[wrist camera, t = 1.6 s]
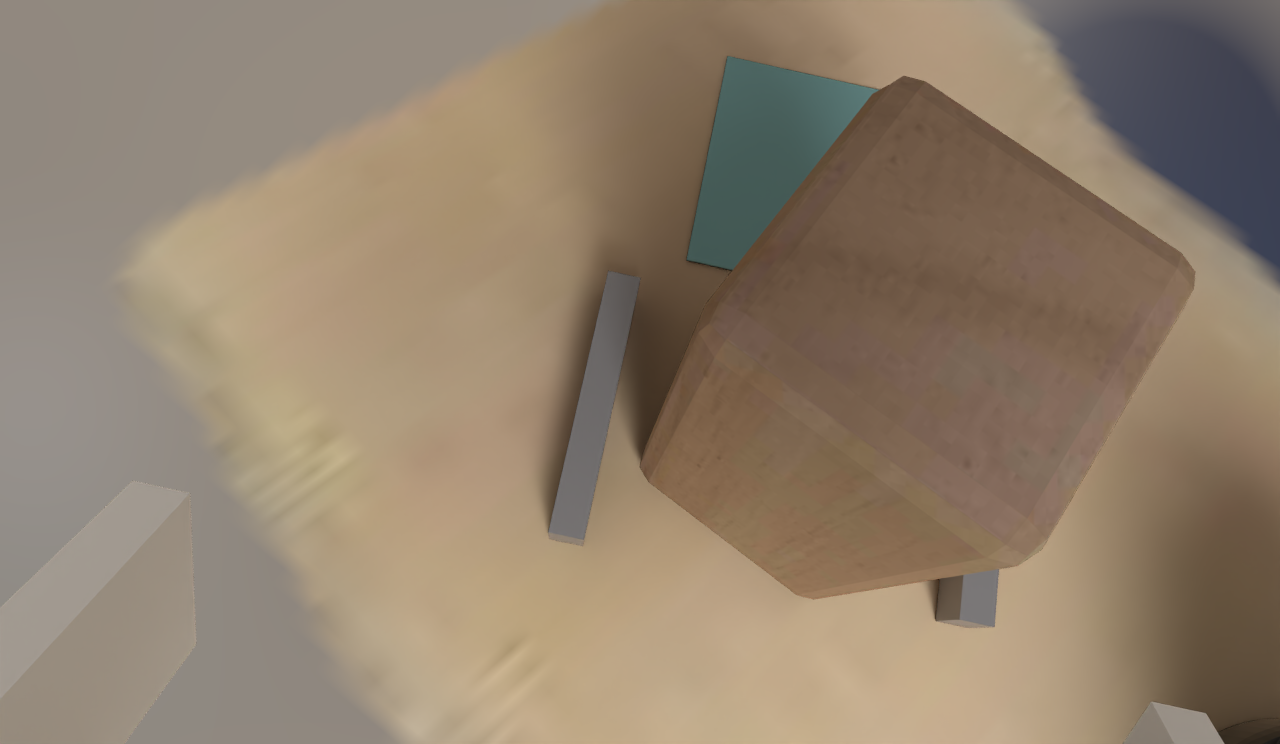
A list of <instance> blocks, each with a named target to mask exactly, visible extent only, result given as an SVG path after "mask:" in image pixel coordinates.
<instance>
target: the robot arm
mask: <svg viewBox="0 0 1280 744" xmlns="http://www.w3.org/2000/svg"><path fill="white" fill-rule="evenodd" d="M195 645H196V623H195V599H194V576H193V551H192V527H191V505H190V493H187V492H182V491H177V490H173V489H169V488H164V487H159V486H155V485H150V484H146V483H141V482H136V481H132V482H131V483H130V484H129V485H128V486H127V487H126V488H124V490H122V491H121V492H120V493H119V494H118V495H117V496H116V497H115V498H114V499H113V500H112V501H111V502H110V503H109V504H108V505H107V506H106V507H105V508H104V509H103V510H102V511H100V512H99V513H98V514H97V515H96V516H95V517H94V518H93V519H92V520H91V521H90V522H89V523H88V524H87V525H86V526H85V527H84V528H83V529H82V530H81V531H80V532H79V533H78V534H76V535H75V536H74V537H73V538H72V539H71V540H70V541H69V542H68V543H67V544H66V545H65V546H64V547H63V548H62V549H61V550H60V551H59V552H58V553H57V554H56V555H55V556H54V557H52V558H51V559H50V560H49V561H48V562H47V563H46V564H45V565H44V566H43V567H42V568H41V569H40V570H39V571H38V572H37V573H36V574H35V575H34V576H33V577H32V578H31V579H30V580H28V581H27V582H26V583H25V584H24V585H23V586H22V587H21V588H20V589H19V590H18V591H17V592H16V593H15V594H14V595H13V596H12V597H11V598H10V599H9V600H8V601H7V602H6V603H4V604H3V605H2V606H1V607H0V744H125V742H126V741H127V740H128V738H129V737H130V735H131V734H132V733H133V731H134V730H135V729H136V727H137V726H138V724H139V723H140V722H141V720H142V719H143V717H144V716H145V715H146V713H147V712H148V710H149V709H150V708H151V706H152V705H153V703H154V702H155V701H156V699H157V698H158V697H159V695H160V694H161V693H162V691H163V690H164V688H165V687H166V686H167V684H168V683H169V681H170V680H171V679H172V677H173V676H174V674H175V673H176V672H177V670H178V669H179V668H180V666H181V665H182V663H183V662H184V660H185V659H186V658H187V656H188V655H189V654H190V652H191V651H192V650H193V648H194V647H195ZM1123 744H1280V719H1263V720H1256V721H1250V722H1246V723H1242V724H1238V725H1235V726H1233V727H1230V728H1227V729H1225V730H1223V731H1221V732H1219V733H1218V732H1217V731H1216V729H1215V727H1214V726H1213V724H1212V722H1211V721H1210V719H1209V717H1208V716H1207V714H1206V713H1203V712H1198V711H1193V710H1189V709H1184V708H1179V707H1175V706H1170V705H1166V704H1161V703H1156V702H1152V701H1151V702H1150V704H1149V705H1148V707H1147V708H1146V710H1145V711H1144V713H1143V714H1142V716H1141V717H1140V719H1139V720H1138V722H1137V723H1136V725H1135V726H1134V728H1133V729H1132V730H1131V732H1130V733H1129V735H1128V736H1127V738H1126V739H1125V741H1124V742H1123Z"/></svg>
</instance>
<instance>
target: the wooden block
mask: <svg viewBox="0 0 1280 744" xmlns="http://www.w3.org/2000/svg"><path fill="white" fill-rule="evenodd" d="M1194 281H1195V271H1194V269H1193V268H1192V266H1191V265H1190V264H1189V262H1188V261H1187V260H1186V258H1185V257H1184V256H1183V254H1182V253H1181V252H1179V251H1178V250H1176V249H1175V248H1173V247H1172V246H1170V245H1169V244H1167V243H1166V242H1164V241H1163V240H1161V239H1160V238H1158V237H1157V236H1155V235H1154V234H1152V233H1151V232H1149V231H1148V230H1146V229H1145V228H1143V227H1142V226H1140V225H1139V224H1137V223H1136V222H1134V221H1133V220H1131V219H1130V218H1128V217H1127V216H1125V215H1124V214H1122V213H1121V212H1119V211H1118V210H1116V209H1115V208H1113V207H1112V206H1110V205H1109V204H1107V203H1106V202H1104V201H1103V200H1102V199H1100V198H1099V197H1097V196H1096V195H1094V194H1093V193H1091V192H1090V191H1088V190H1087V189H1085V188H1084V187H1082V186H1081V185H1079V184H1078V183H1076V182H1075V181H1073V180H1072V179H1070V178H1069V177H1067V176H1066V175H1064V174H1063V173H1061V172H1060V171H1058V170H1057V169H1055V168H1054V167H1052V166H1051V165H1049V164H1048V163H1046V162H1045V161H1043V160H1042V159H1040V158H1039V157H1037V156H1036V155H1034V154H1033V153H1031V152H1030V151H1028V150H1027V149H1025V148H1024V147H1022V146H1021V145H1019V144H1018V143H1017V142H1015V141H1014V140H1012V139H1011V138H1009V137H1008V136H1006V135H1005V134H1003V133H1002V132H1000V131H999V130H997V129H996V128H994V127H993V126H991V125H990V124H988V123H987V122H985V121H984V120H982V119H981V118H979V117H978V116H976V115H975V114H973V113H972V112H970V111H969V110H967V109H966V108H964V107H963V106H961V105H960V104H958V103H957V102H955V101H954V100H952V99H951V98H949V97H948V96H946V95H945V94H943V93H942V92H940V91H939V90H937V89H936V88H934V87H933V86H932V85H930V84H929V83H927V82H925V81H921V80H918V79H914V78H910V77H906V76H903V77H901V78H900V79H898V80H896V81H895V82H893V83H892V84H890V85H888V86H886V87H884V88H882V89H881V90H879V91H877V92H875V93H873V94H872V95H871V96H870V98H869V99H868V100H867V101H866V103H865V104H864V105H863V106H862V108H861V109H860V110H859V112H858V113H857V114H856V115H855V117H854V118H853V119H852V120H851V122H850V123H849V124H848V125H847V127H846V128H845V129H844V130H843V132H842V133H841V134H840V135H839V137H838V138H837V139H836V141H835V142H834V143H833V144H832V146H831V147H830V148H829V149H828V151H827V152H826V153H825V154H824V156H823V157H822V158H821V159H820V161H819V162H818V163H817V164H816V166H815V167H814V168H813V170H812V171H811V172H810V173H809V175H808V176H807V177H806V178H805V180H804V181H803V182H802V183H801V185H800V186H799V187H798V188H797V190H796V191H795V192H794V193H793V195H792V196H791V197H790V198H789V200H788V201H787V202H786V204H785V205H784V206H783V207H782V209H781V210H780V211H779V212H778V214H777V215H776V216H775V217H774V219H773V220H772V221H771V222H770V224H769V225H768V226H767V227H766V229H765V230H764V231H763V233H762V234H761V235H760V236H759V238H758V239H757V240H756V241H755V243H754V244H753V245H752V246H751V248H750V249H749V250H748V251H747V253H746V254H745V255H744V256H743V258H742V259H741V260H740V261H739V263H738V264H737V265H736V267H735V268H734V269H733V270H732V272H731V273H730V274H729V275H728V277H727V278H726V279H725V280H724V282H723V283H722V284H721V285H720V287H719V288H718V289H717V290H716V292H715V293H714V294H713V296H712V297H711V298H710V299H709V301H708V302H707V303H706V304H705V307H704V309H703V311H702V314H701V316H700V318H699V321H698V323H697V326H696V328H695V330H694V333H693V335H692V337H691V340H690V342H689V345H688V347H687V349H686V352H685V354H684V356H683V359H682V361H681V363H680V366H679V368H678V371H677V373H676V375H675V378H674V380H673V382H672V385H671V387H670V390H669V392H668V394H667V397H666V399H665V401H664V404H663V406H662V409H661V411H660V413H659V416H658V418H657V420H656V423H655V425H654V428H653V430H652V432H651V435H650V437H649V439H648V442H647V444H646V447H645V449H644V452H643V456H642V459H641V463H640V468H641V470H642V472H643V474H644V475H645V477H646V479H647V480H648V482H649V483H651V484H652V485H653V486H655V487H656V488H657V489H658V490H660V491H661V492H662V493H664V494H665V495H666V496H668V497H669V498H670V499H672V500H673V501H674V502H675V503H677V504H678V505H679V506H681V507H682V508H683V509H685V510H686V511H687V512H689V513H690V514H691V515H693V516H694V517H695V518H696V519H698V520H699V521H700V522H702V523H703V524H704V525H706V526H707V527H708V528H710V529H711V530H712V531H713V532H715V533H716V534H717V535H719V536H720V537H721V538H723V539H724V540H725V541H727V542H728V543H729V544H731V545H732V546H733V547H734V548H736V549H737V550H738V551H740V552H741V553H742V554H744V555H745V556H746V557H748V558H749V559H750V560H752V561H753V562H754V563H755V564H757V565H758V566H759V567H761V568H762V569H763V570H765V571H766V572H767V573H769V574H770V575H771V576H772V577H774V578H775V579H776V580H778V581H779V582H780V583H782V584H783V585H784V586H786V587H787V588H788V589H790V590H791V591H792V592H793V593H795V594H796V595H799V596H803V597H807V598H810V599H819V598H825V597H831V596H837V595H843V594H850V593H856V592H862V591H868V590H874V589H880V588H886V587H892V586H899V585H905V584H911V583H917V582H923V581H929V580H935V579H941V578H947V577H954V576H960V575H966V574H972V573H978V572H984V571H990V570H996V569H1002V568H1009V567H1015V566H1018V565H1020V564H1021V563H1023V562H1024V561H1026V560H1027V559H1029V558H1030V557H1032V556H1033V555H1035V554H1036V553H1038V552H1039V551H1041V550H1042V549H1043V547H1044V545H1045V544H1046V542H1047V540H1048V538H1049V537H1050V535H1051V533H1052V532H1053V530H1054V528H1055V526H1056V525H1057V523H1058V521H1059V520H1060V518H1061V516H1062V515H1063V513H1064V511H1065V509H1066V508H1067V506H1068V504H1069V503H1070V501H1071V499H1072V498H1073V496H1074V494H1075V492H1076V491H1077V489H1078V487H1079V486H1080V484H1081V482H1082V480H1083V479H1084V477H1085V475H1086V474H1087V472H1088V470H1089V469H1090V467H1091V465H1092V463H1093V462H1094V460H1095V458H1096V457H1097V455H1098V453H1099V451H1100V450H1101V448H1102V446H1103V445H1104V443H1105V441H1106V440H1107V438H1108V436H1109V434H1110V433H1111V431H1112V429H1113V428H1114V426H1115V424H1116V423H1117V421H1118V419H1119V417H1120V416H1121V414H1122V412H1123V411H1124V409H1125V407H1126V405H1127V404H1128V402H1129V400H1130V399H1131V397H1132V395H1133V394H1134V392H1135V390H1136V388H1137V387H1138V385H1139V383H1140V382H1141V380H1142V378H1143V377H1144V375H1145V373H1146V371H1147V370H1148V368H1149V366H1150V365H1151V363H1152V361H1153V359H1154V358H1155V356H1156V354H1157V353H1158V351H1159V349H1160V348H1161V346H1162V344H1163V342H1164V341H1165V339H1166V337H1167V336H1168V334H1169V332H1170V331H1171V329H1172V327H1173V325H1174V324H1175V322H1176V320H1177V319H1178V317H1179V315H1180V313H1181V312H1182V310H1183V308H1184V307H1185V305H1186V303H1187V301H1188V299H1189V297H1190V295H1191V293H1192V291H1193V289H1194Z"/></svg>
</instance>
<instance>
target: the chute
mask: <svg viewBox="0 0 1280 744" xmlns="http://www.w3.org/2000/svg"><path fill="white" fill-rule="evenodd" d="M640 279H641V278H639V277H635V276H630V275H626V274H621V273H617V272H612V271H608V274H607V279H606V283H605V288H604V292H603V296H602V301H601V305H600V309H599V314H598V318H597V322H596V327H595V331H594V335H593V340H592V344H591V348H590V353H589V357H588V362H587V366H586V370H585V375H584V379H583V383H582V388H581V392H580V396H579V401H578V405H577V409H576V414H575V418H574V422H573V427H572V431H571V436H570V440H569V444H568V449H567V453H566V457H565V462H564V466H563V470H562V475H561V479H560V483H559V488H558V492H557V496H556V501H555V505H554V509H553V514H552V518H551V523H550V527H549V531H548V534H549V539H552V540H557V541H561V542H566V543H571V544H575V545H580V546H583V542H584V537H585V533H586V528H587V524H588V519H589V514H590V510H591V505H592V500H593V496H594V491H595V487H596V482H597V477H598V473H599V468H600V464H601V459H602V454H603V450H604V445H605V441H606V436H607V431H608V427H609V422H610V418H611V413H612V408H613V404H614V399H615V395H616V390H617V385H618V381H619V376H620V371H621V367H622V362H623V358H624V353H625V348H626V344H627V339H628V335H629V330H630V325H631V321H632V316H633V312H634V307H635V302H636V298H637V293H638V288H639V284H640ZM998 575H999V569H996V570H990V571H984V572H978V573H972V574H966V575H960V576H954V577H947V578H941V579H940V581H939V591H938V602H937V612H936V621H938V622H943V623H948V624H952V625H957V626H962V627H967V628H982V627H995V615H996V601H997V588H998Z"/></svg>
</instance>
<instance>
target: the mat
mask: <svg viewBox="0 0 1280 744" xmlns="http://www.w3.org/2000/svg"><path fill="white" fill-rule="evenodd" d="M877 91H879V90H877V89H873V88H868V87H864V86H859V85H855V84H850V83H846V82H841V81H837V80H832V79H828V78H823V77H819V76H815V75H810V74H806V73H801V72H797V71H792V70H788V69H783V68H779V67H774V66H770V65H765V64H761V63H756V62H752V61H748V60H743V59H739V58H734V57H730V56H728V57H727V62H726V66H725V71H724V76H723V81H722V86H721V91H720V96H719V101H718V106H717V111H716V116H715V121H714V126H713V131H712V136H711V141H710V146H709V151H708V156H707V161H706V166H705V171H704V176H703V181H702V186H701V191H700V196H699V201H698V206H697V211H696V215H695V220H694V225H693V230H692V235H691V240H690V245H689V250H688V255H687V261H692V262H696V263H701V264H706V265H710V266H715V267H719V268H724V269H728V270H733V269H734V268H735V267H736V265H737V264H738V263H739V261H740V260H741V259H742V258H743V256H744V255H745V254H746V253H747V251H748V250H749V249H750V248H751V246H752V245H753V244H754V243H755V241H756V240H757V239H758V238H759V236H760V235H761V234H762V233H763V231H764V230H765V229H766V227H767V226H768V225H769V224H770V222H771V221H772V220H773V219H774V217H775V216H776V215H777V214H778V212H779V211H780V210H781V209H782V207H783V206H784V205H785V204H786V202H787V201H788V200H789V198H790V197H791V196H792V195H793V193H794V192H795V191H796V190H797V188H798V187H799V186H800V185H801V183H802V182H803V181H804V180H805V178H806V177H807V176H808V175H809V173H810V172H811V171H812V170H813V168H814V167H815V166H816V164H817V163H818V162H819V161H820V159H821V158H822V157H823V156H824V154H825V153H826V152H827V151H828V149H829V148H830V147H831V146H832V144H833V143H834V142H835V141H836V139H837V138H838V137H839V135H840V134H841V133H842V132H843V130H844V129H845V128H846V127H847V125H848V124H849V123H850V122H851V120H852V119H853V118H854V117H855V115H856V114H857V113H858V112H859V110H860V109H861V108H862V106H863V105H864V104H865V103H866V101H867V100H868V99H869V98H870V96H871V95H872V94H873V93H875V92H877Z"/></svg>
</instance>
